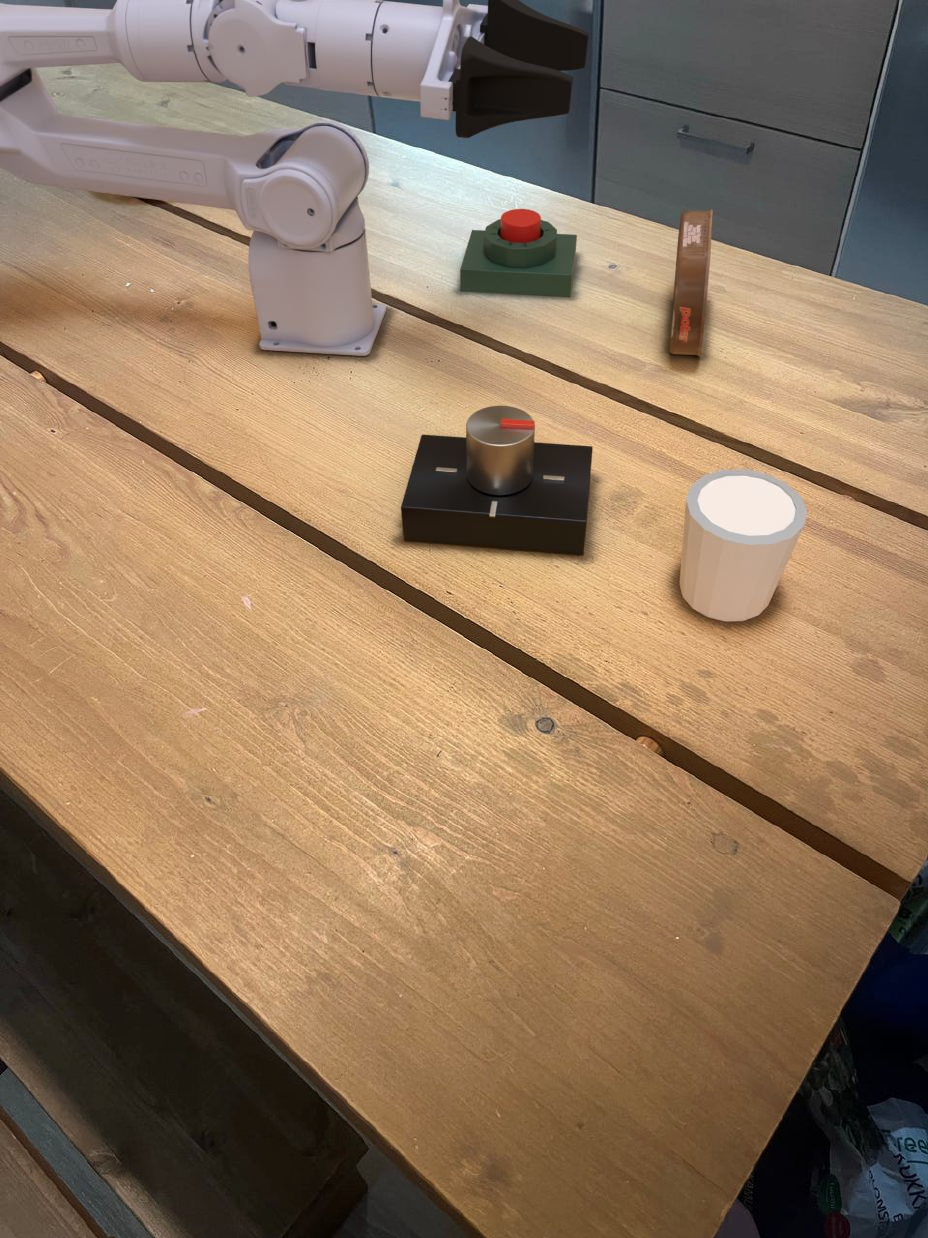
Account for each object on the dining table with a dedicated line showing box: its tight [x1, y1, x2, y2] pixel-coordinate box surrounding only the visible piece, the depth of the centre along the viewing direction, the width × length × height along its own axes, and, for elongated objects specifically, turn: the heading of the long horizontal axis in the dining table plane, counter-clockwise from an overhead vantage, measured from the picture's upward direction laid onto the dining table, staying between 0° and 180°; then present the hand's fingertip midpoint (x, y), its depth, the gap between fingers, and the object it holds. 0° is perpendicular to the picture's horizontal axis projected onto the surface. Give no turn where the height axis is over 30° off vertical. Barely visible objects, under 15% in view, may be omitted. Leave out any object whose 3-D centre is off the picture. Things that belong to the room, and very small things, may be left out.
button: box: [500, 208, 542, 243], centre depth 86 cm, size 4×4×2 cm
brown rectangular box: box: [668, 209, 714, 357], centre depth 79 cm, size 15×3×8 cm, turn 168°
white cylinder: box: [679, 468, 808, 622], centre depth 58 cm, size 7×7×7 cm
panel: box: [400, 434, 594, 556], centre depth 65 cm, size 12×9×3 cm
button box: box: [459, 218, 578, 298], centre depth 88 cm, size 10×8×4 cm
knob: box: [465, 405, 536, 495], centre depth 62 cm, size 4×4×4 cm
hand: (579, 71), depth 64 cm, fingers open, 7 cm apart
